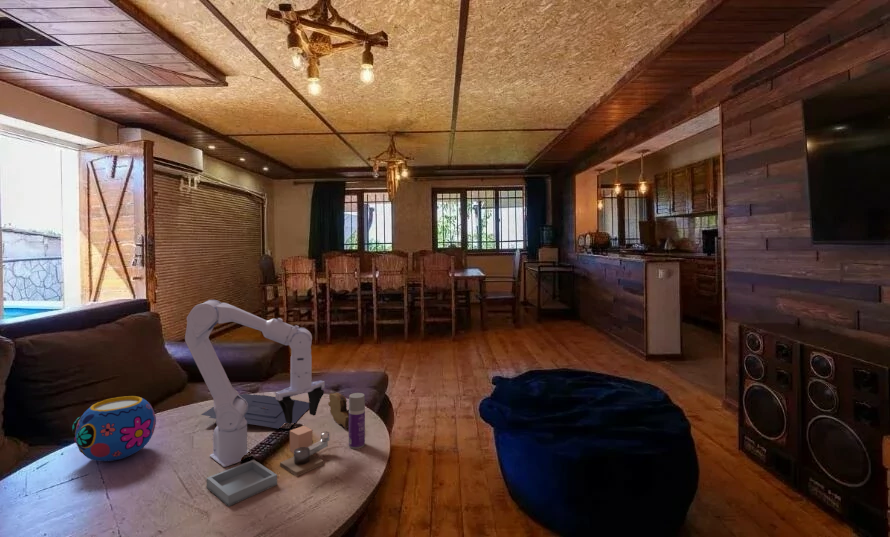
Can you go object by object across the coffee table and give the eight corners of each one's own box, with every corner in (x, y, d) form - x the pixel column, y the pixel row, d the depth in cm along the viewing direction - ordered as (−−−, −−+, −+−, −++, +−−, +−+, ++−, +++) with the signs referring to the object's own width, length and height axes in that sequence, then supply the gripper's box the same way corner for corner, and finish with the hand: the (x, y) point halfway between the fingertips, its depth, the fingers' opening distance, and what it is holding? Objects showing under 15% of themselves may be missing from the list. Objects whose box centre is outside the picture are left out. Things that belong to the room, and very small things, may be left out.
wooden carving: (358, 429, 136) (358, 398, 135) (345, 433, 133) (345, 402, 132) (335, 413, 148) (335, 386, 148) (323, 417, 145) (323, 388, 145)
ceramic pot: (70, 456, 116) (69, 402, 115) (148, 436, 129) (147, 388, 128) (79, 480, 104) (78, 421, 103) (163, 455, 117) (163, 402, 116)
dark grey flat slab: (235, 399, 159) (236, 389, 158) (313, 410, 158) (315, 400, 158) (196, 425, 134) (197, 414, 134) (288, 438, 134) (289, 427, 134)
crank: (301, 465, 110) (301, 449, 110) (290, 461, 112) (290, 446, 112) (333, 447, 120) (333, 433, 120) (323, 444, 122) (323, 430, 122)
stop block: (289, 451, 120) (289, 430, 120) (303, 445, 124) (303, 425, 124) (298, 456, 118) (298, 435, 117) (312, 450, 121) (312, 429, 121)
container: (361, 449, 122) (361, 398, 121) (345, 447, 123) (346, 397, 122) (367, 442, 126) (367, 393, 126) (352, 440, 127) (352, 392, 127)
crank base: (279, 466, 112) (280, 461, 112) (306, 454, 118) (306, 451, 118) (296, 476, 107) (296, 472, 107) (323, 464, 113) (323, 460, 113)
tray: (206, 487, 101) (206, 477, 101) (253, 468, 110) (253, 459, 110) (228, 506, 94) (228, 495, 94) (277, 484, 103) (277, 474, 103)
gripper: (285, 380, 112) (285, 430, 112) (330, 368, 123) (330, 414, 123) (271, 375, 116) (271, 423, 117) (316, 364, 127) (316, 408, 128)
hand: (301, 418), depth 120 cm, fingers open, 7 cm apart
